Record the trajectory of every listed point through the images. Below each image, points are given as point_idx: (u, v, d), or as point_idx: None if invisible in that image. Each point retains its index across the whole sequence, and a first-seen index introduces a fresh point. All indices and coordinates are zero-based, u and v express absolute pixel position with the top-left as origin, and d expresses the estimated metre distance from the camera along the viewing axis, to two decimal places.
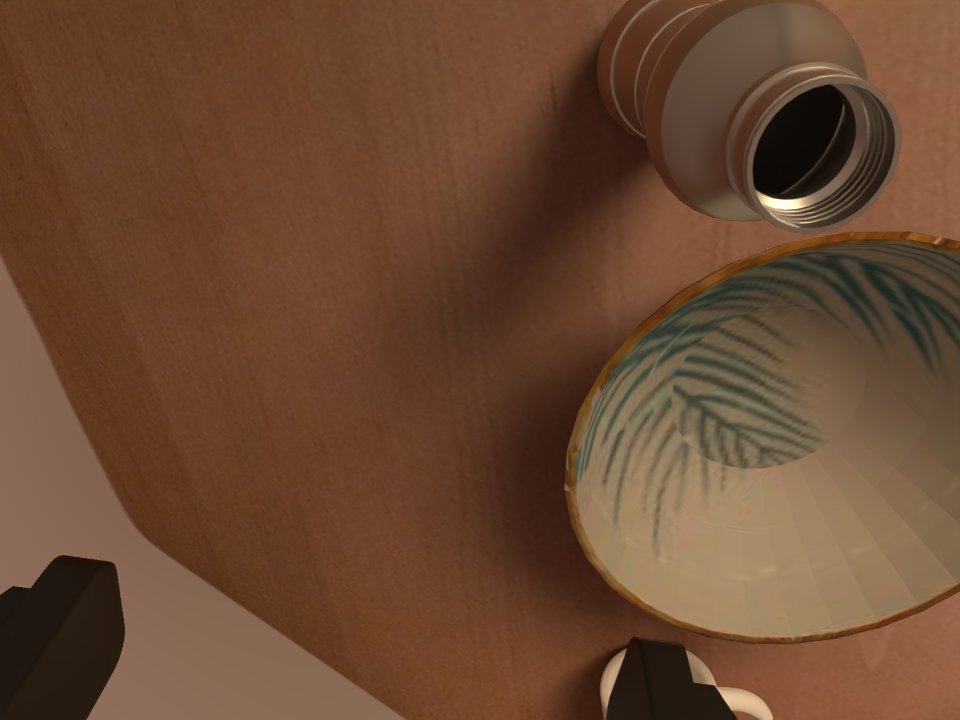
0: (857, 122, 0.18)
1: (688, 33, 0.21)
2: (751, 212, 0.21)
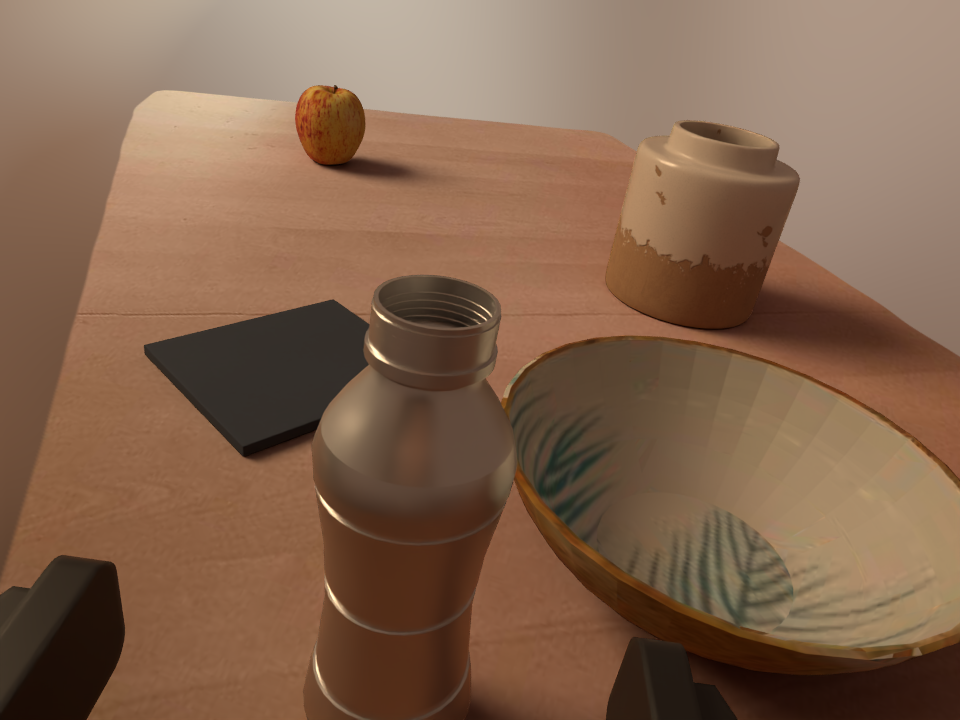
0: None
1: (349, 492, 0.21)
2: (500, 405, 0.23)
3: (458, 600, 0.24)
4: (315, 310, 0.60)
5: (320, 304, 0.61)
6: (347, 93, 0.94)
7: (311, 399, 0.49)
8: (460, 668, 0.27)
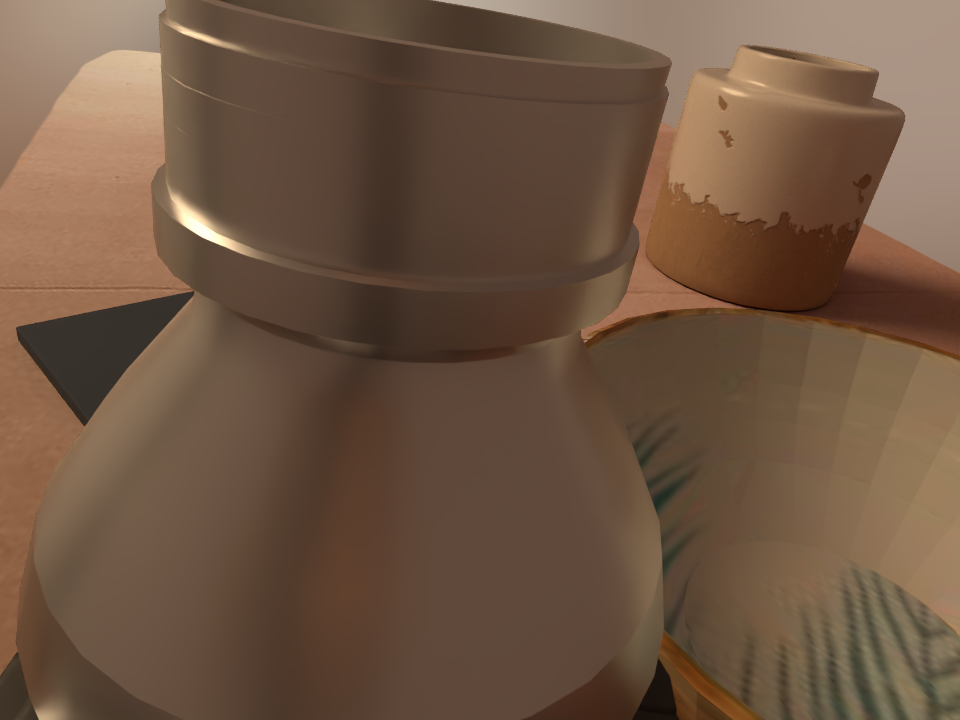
0: None
1: None
2: None
3: None
4: None
5: None
6: None
7: None
8: None
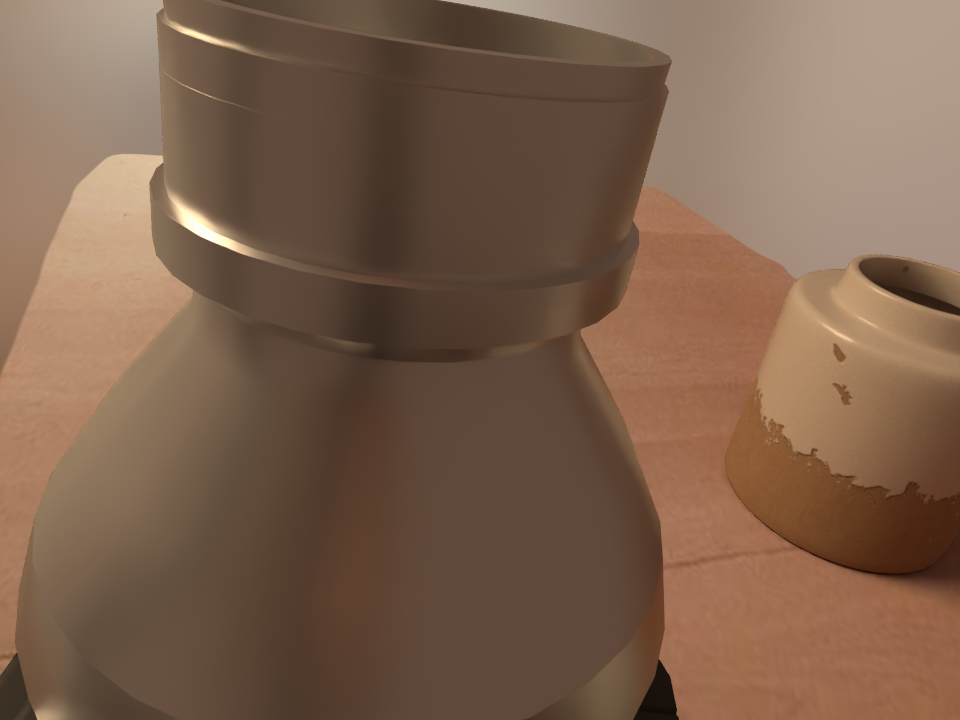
0: None
1: None
2: (622, 417, 0.07)
3: None
4: None
5: None
6: None
7: None
8: None
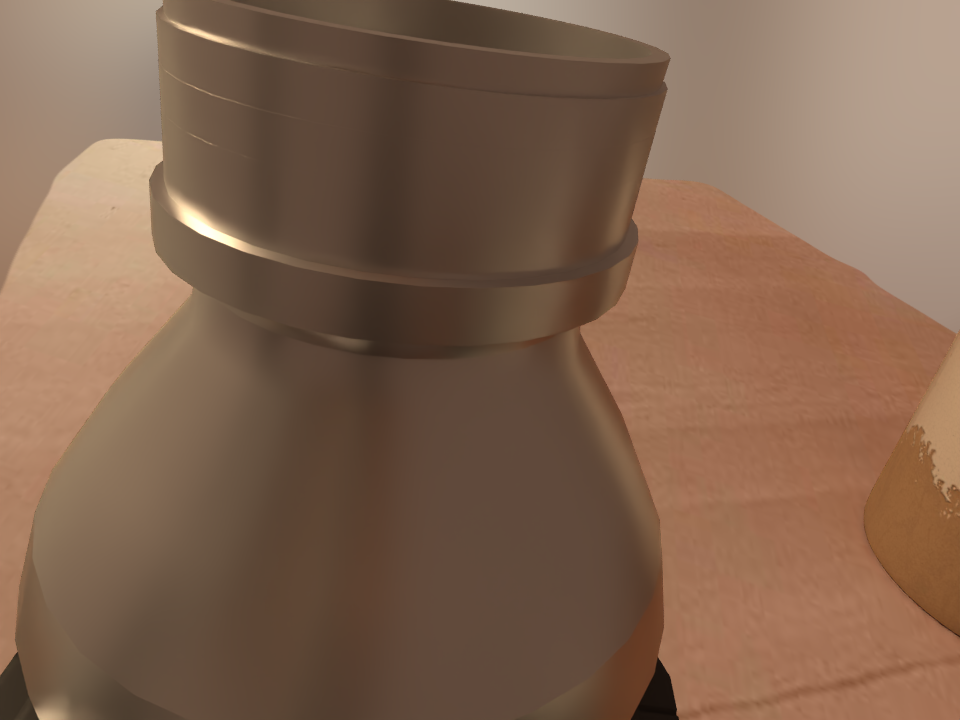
0: None
1: None
2: (621, 414, 0.07)
3: None
4: None
5: None
6: None
7: None
8: None
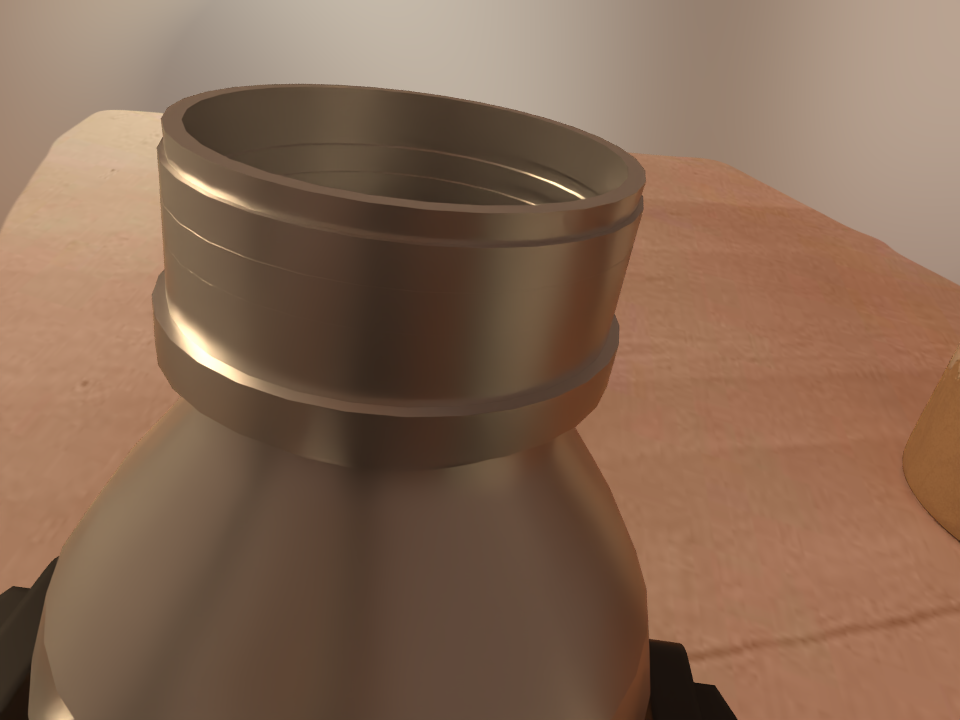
0: None
1: None
2: (609, 489, 0.08)
3: None
4: None
5: None
6: None
7: None
8: None
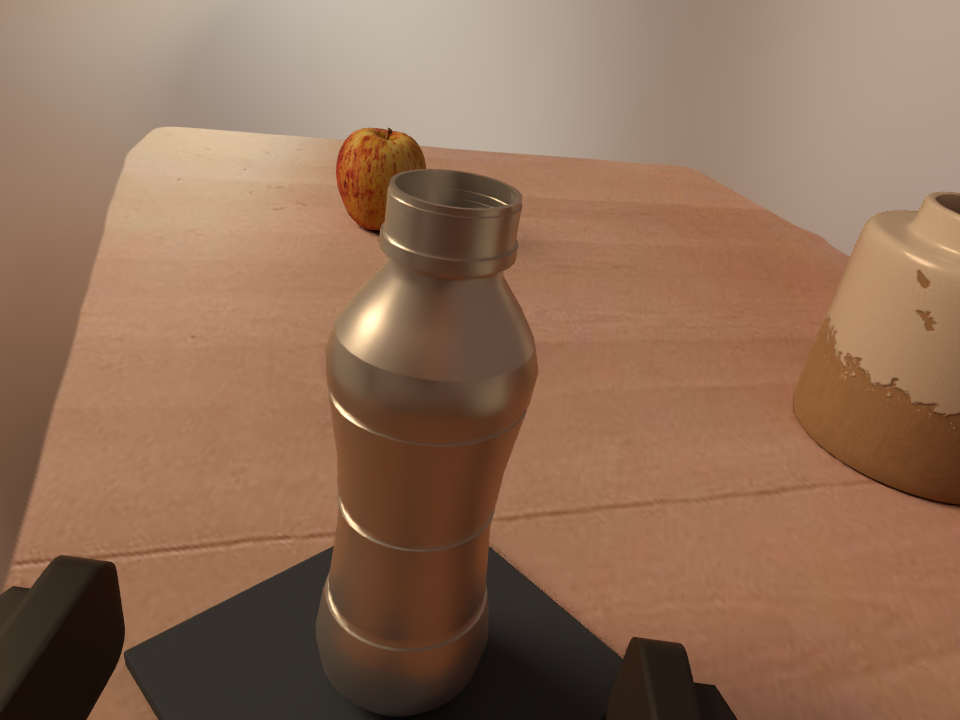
0: None
1: (364, 388, 0.20)
2: (521, 308, 0.22)
3: (476, 516, 0.23)
4: None
5: None
6: (405, 138, 0.71)
7: None
8: (478, 596, 0.26)
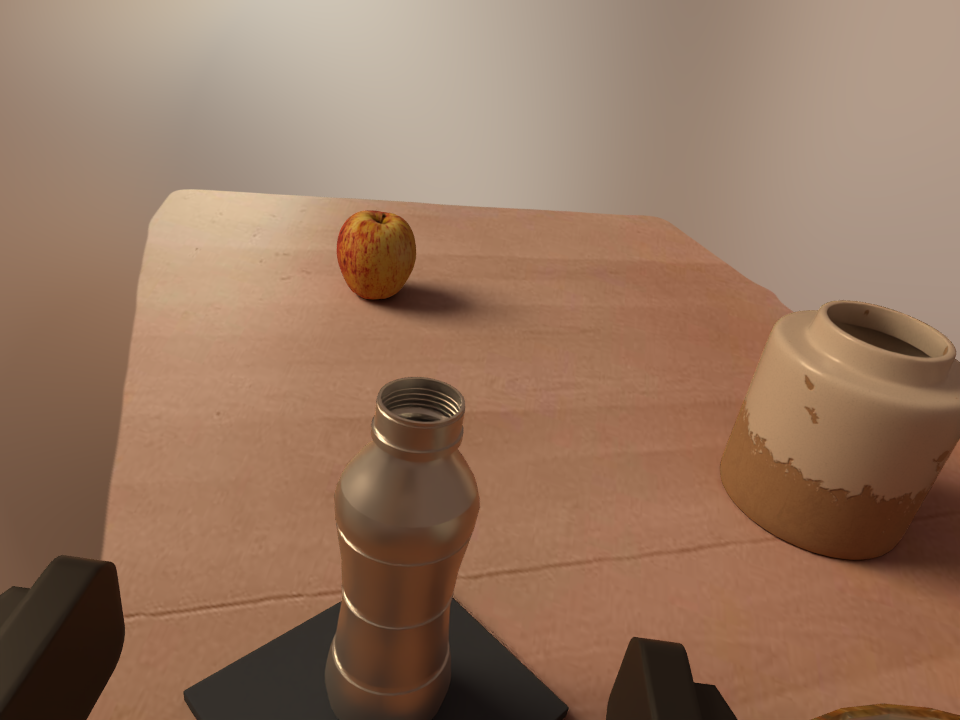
0: (402, 412, 0.32)
1: (360, 530, 0.30)
2: (467, 467, 0.32)
3: (438, 604, 0.34)
4: None
5: None
6: (397, 221, 0.82)
7: None
8: (441, 655, 0.37)
